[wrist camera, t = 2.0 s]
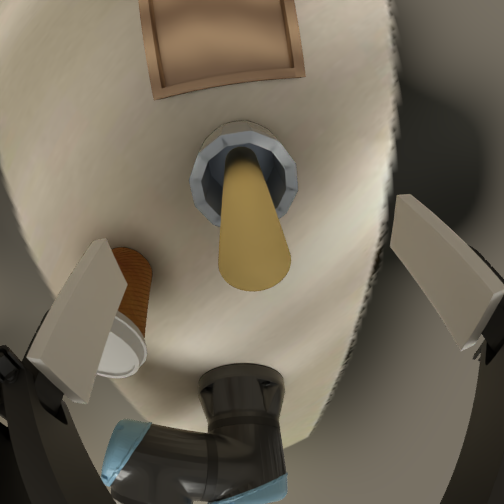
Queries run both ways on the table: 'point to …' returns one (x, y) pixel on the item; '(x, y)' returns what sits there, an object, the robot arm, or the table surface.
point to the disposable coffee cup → (128, 318)
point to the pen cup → (213, 164)
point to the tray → (219, 43)
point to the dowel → (250, 227)
